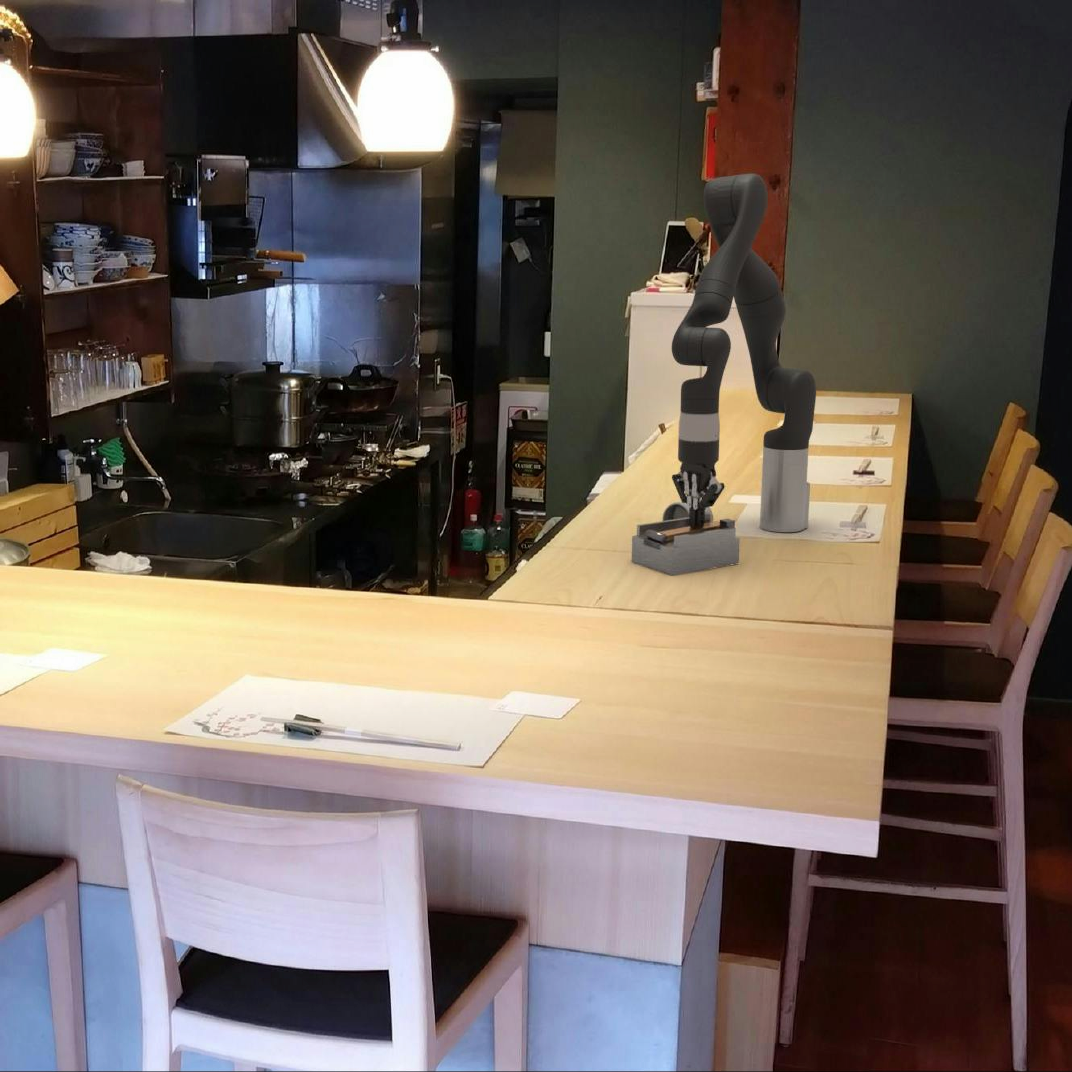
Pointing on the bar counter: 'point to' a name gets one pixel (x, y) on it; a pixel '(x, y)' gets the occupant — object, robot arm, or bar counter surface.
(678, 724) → the bar counter surface
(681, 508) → the ceramic mug
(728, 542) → the block
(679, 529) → the strap
